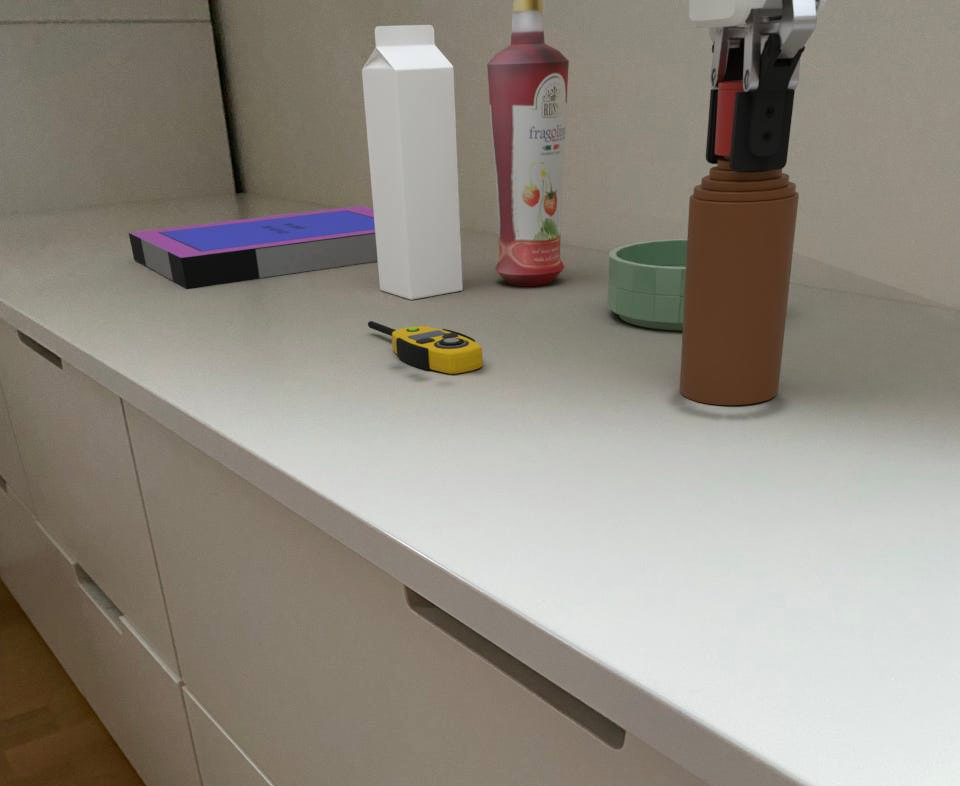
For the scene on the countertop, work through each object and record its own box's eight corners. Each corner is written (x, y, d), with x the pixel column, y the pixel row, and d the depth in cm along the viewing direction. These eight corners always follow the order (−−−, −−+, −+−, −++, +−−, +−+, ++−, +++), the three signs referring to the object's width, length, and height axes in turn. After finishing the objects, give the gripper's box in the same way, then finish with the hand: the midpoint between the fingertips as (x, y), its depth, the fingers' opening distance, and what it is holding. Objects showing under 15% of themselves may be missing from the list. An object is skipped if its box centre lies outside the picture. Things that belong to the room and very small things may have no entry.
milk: (379, 291, 97) (355, 28, 85) (431, 281, 99) (414, 26, 88) (411, 300, 92) (391, 24, 81) (464, 290, 95) (452, 22, 84)
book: (128, 232, 115) (360, 205, 127) (134, 259, 116) (363, 230, 129) (180, 257, 99) (439, 224, 112) (186, 288, 101) (440, 252, 114)
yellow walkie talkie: (439, 352, 69) (341, 314, 80) (441, 379, 70) (344, 338, 81) (495, 340, 72) (393, 305, 82) (496, 366, 73) (394, 328, 83)
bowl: (724, 292, 91) (729, 234, 88) (793, 325, 80) (801, 260, 77) (587, 304, 89) (589, 245, 86) (638, 339, 77) (641, 273, 75)
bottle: (751, 371, 69) (777, 85, 60) (795, 398, 63) (831, 88, 54) (665, 382, 68) (678, 93, 59) (702, 410, 62) (723, 96, 53)
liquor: (527, 293, 93) (523, -69, 79) (478, 282, 98) (466, -60, 84) (582, 280, 97) (588, -66, 83) (532, 271, 102) (529, -58, 88)
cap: (706, 152, 60) (709, 82, 58) (766, 147, 60) (772, 77, 58) (726, 158, 56) (730, 84, 54) (790, 153, 57) (797, 79, 55)
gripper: (663, -202, 56) (646, 156, 65) (769, -288, 42) (728, 186, 51) (791, -205, 56) (756, 150, 66) (939, -291, 42) (866, 178, 52)
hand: (744, 162), depth 58 cm, fingers closed on cap, 3 cm apart
